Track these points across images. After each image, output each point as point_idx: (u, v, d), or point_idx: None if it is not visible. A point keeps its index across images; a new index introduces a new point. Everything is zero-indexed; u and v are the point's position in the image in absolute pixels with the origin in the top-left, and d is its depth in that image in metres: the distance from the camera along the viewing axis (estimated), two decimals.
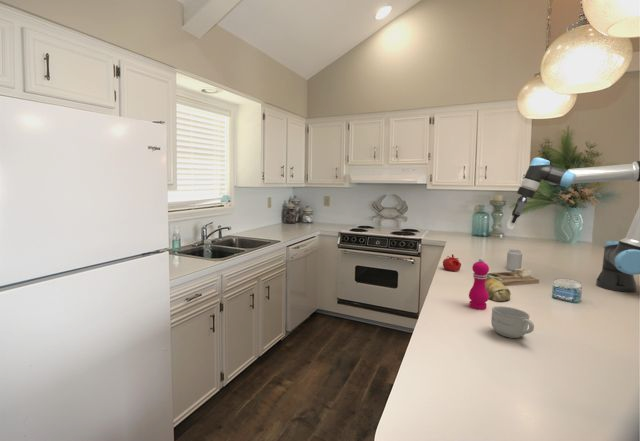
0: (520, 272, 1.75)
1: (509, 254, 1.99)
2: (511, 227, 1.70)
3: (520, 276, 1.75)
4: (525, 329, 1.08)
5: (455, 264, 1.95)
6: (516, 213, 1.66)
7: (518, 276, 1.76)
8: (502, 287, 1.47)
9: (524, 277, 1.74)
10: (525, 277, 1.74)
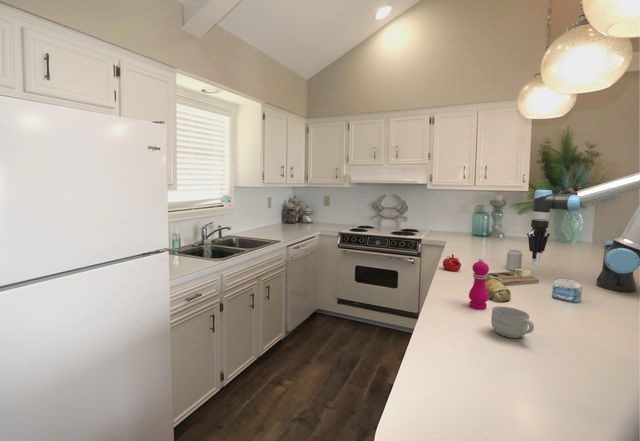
0: (520, 272, 1.75)
1: (509, 254, 1.99)
2: (535, 263, 1.78)
3: (520, 276, 1.75)
4: (525, 329, 1.08)
5: (455, 264, 1.95)
6: (531, 249, 1.77)
7: (518, 276, 1.76)
8: (502, 287, 1.46)
9: (524, 277, 1.74)
10: (525, 277, 1.74)
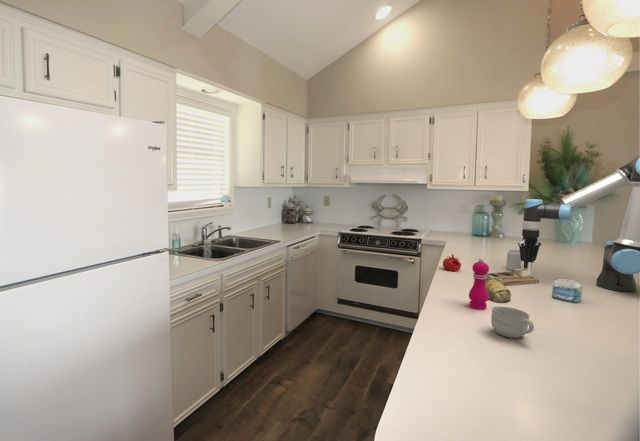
0: (520, 272, 1.75)
1: (509, 254, 1.99)
2: None
3: (520, 276, 1.75)
4: (525, 329, 1.08)
5: (455, 264, 1.95)
6: (522, 258, 1.76)
7: (518, 276, 1.76)
8: (502, 288, 1.46)
9: (524, 277, 1.73)
10: (525, 277, 1.74)
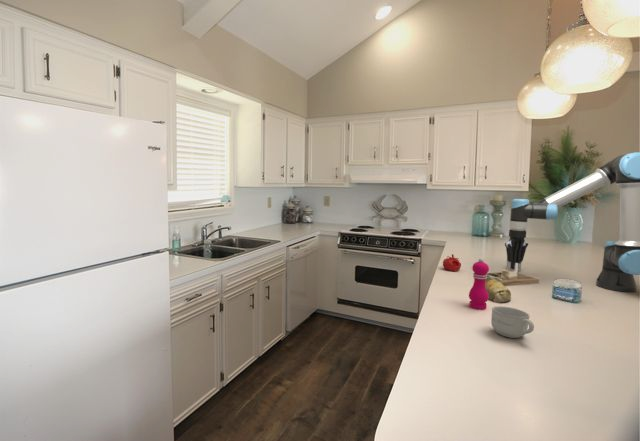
0: (506, 273, 1.72)
1: None
2: None
3: (506, 277, 1.72)
4: (525, 329, 1.08)
5: (455, 264, 1.95)
6: (509, 259, 1.73)
7: (504, 277, 1.73)
8: (503, 288, 1.45)
9: (510, 278, 1.71)
10: (511, 278, 1.71)
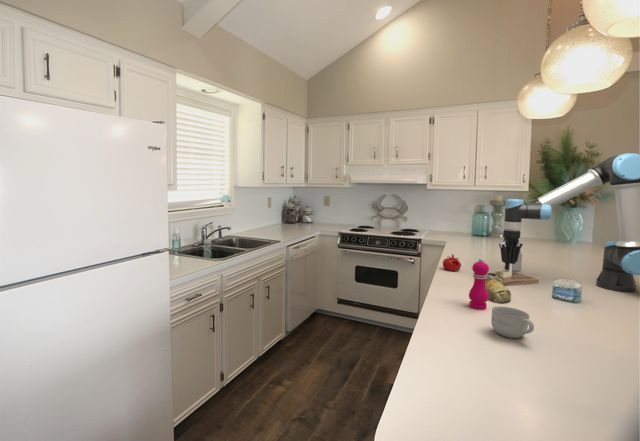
0: (500, 273, 1.71)
1: None
2: None
3: (500, 277, 1.71)
4: (525, 329, 1.08)
5: (455, 264, 1.95)
6: (503, 260, 1.72)
7: (499, 277, 1.72)
8: (503, 288, 1.45)
9: (504, 278, 1.70)
10: (505, 278, 1.70)
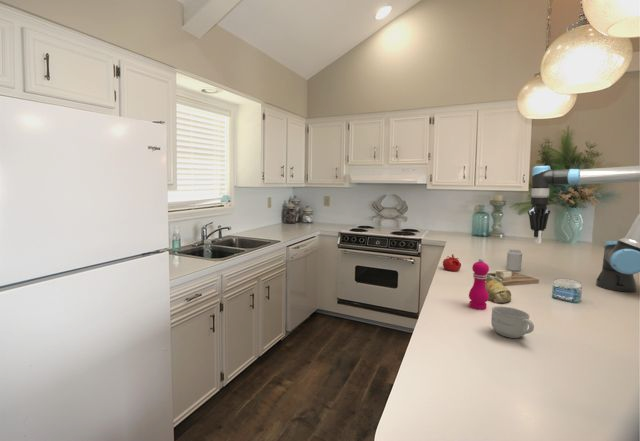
0: (500, 273, 1.71)
1: (509, 254, 1.99)
2: (537, 241, 1.73)
3: (500, 277, 1.71)
4: (525, 329, 1.08)
5: (455, 264, 1.95)
6: (532, 227, 1.73)
7: (499, 277, 1.72)
8: (503, 288, 1.44)
9: (504, 278, 1.70)
10: (505, 278, 1.70)
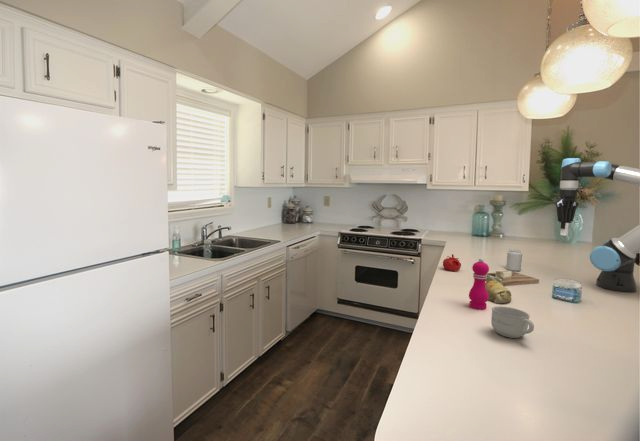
0: (500, 273, 1.71)
1: (509, 254, 1.99)
2: (563, 233, 1.75)
3: (500, 277, 1.71)
4: (525, 329, 1.08)
5: (455, 264, 1.95)
6: (559, 219, 1.74)
7: (499, 277, 1.72)
8: (503, 289, 1.44)
9: (504, 278, 1.70)
10: (505, 278, 1.70)
